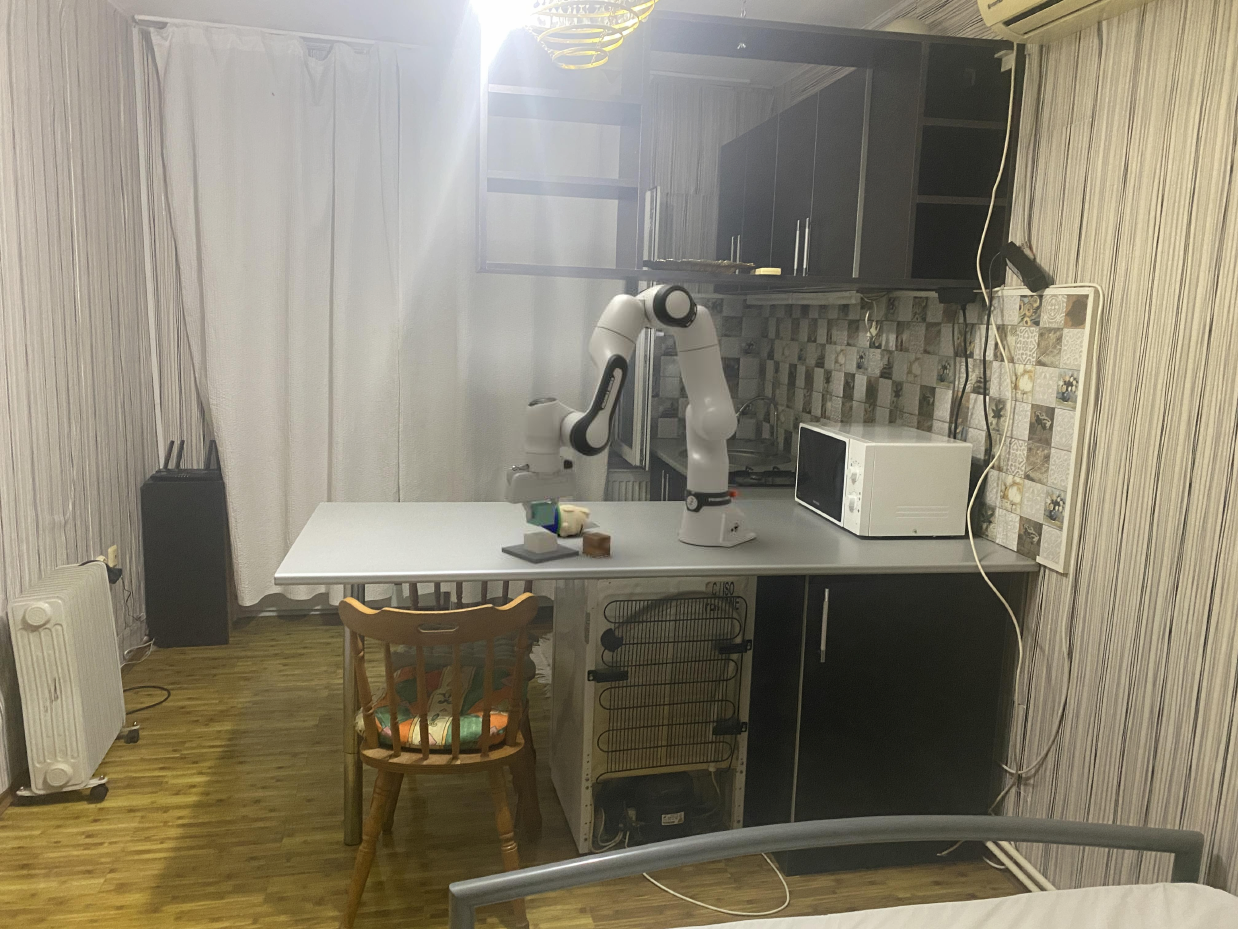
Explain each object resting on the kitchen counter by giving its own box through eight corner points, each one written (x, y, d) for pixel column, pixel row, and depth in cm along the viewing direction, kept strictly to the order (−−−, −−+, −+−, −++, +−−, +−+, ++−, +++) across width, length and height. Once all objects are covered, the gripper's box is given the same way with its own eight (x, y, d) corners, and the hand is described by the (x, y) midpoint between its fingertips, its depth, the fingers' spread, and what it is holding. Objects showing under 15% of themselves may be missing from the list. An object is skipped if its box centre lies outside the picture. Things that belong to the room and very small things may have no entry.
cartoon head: (599, 544, 255) (528, 545, 249) (592, 520, 262) (523, 520, 256) (605, 521, 250) (532, 521, 244) (598, 498, 257) (527, 497, 251)
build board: (545, 543, 243) (545, 525, 242) (579, 554, 233) (579, 535, 232) (501, 551, 234) (501, 532, 233) (534, 563, 224) (535, 543, 223)
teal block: (542, 520, 236) (542, 501, 235) (554, 523, 232) (554, 504, 231) (526, 522, 232) (526, 503, 232) (538, 526, 229) (538, 506, 228)
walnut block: (597, 551, 238) (597, 532, 237) (610, 555, 234) (610, 536, 233) (582, 554, 234) (582, 534, 234) (595, 558, 231) (595, 538, 230)
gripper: (514, 468, 221) (513, 524, 223) (580, 461, 234) (579, 514, 236) (499, 464, 225) (499, 519, 227) (565, 458, 239) (564, 510, 241)
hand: (540, 517), depth 232 cm, fingers closed on teal block, 5 cm apart
